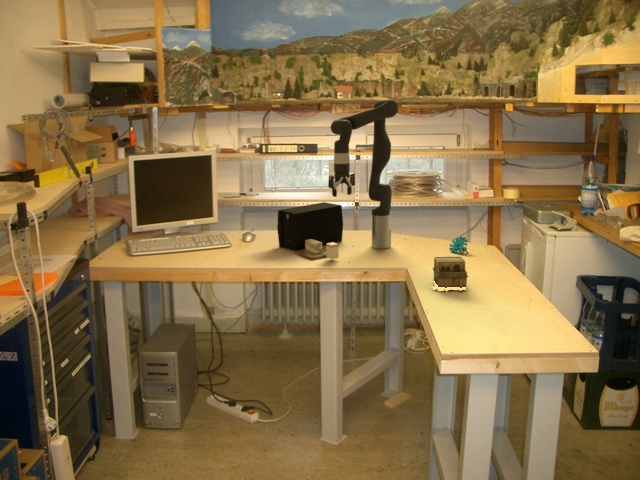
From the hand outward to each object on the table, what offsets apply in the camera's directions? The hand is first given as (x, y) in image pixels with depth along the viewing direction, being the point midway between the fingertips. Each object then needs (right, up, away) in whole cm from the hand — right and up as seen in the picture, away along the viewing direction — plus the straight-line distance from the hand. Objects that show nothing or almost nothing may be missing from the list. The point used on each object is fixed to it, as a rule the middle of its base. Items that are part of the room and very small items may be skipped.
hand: (342, 195), depth 296 cm
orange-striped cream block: (-5, -30, -1) cm, 30 cm away
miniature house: (+42, -41, -43) cm, 73 cm away
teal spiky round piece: (+59, -28, +10) cm, 66 cm away
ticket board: (-13, -29, +10) cm, 33 cm away
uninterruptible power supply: (-15, -24, +31) cm, 42 cm away
